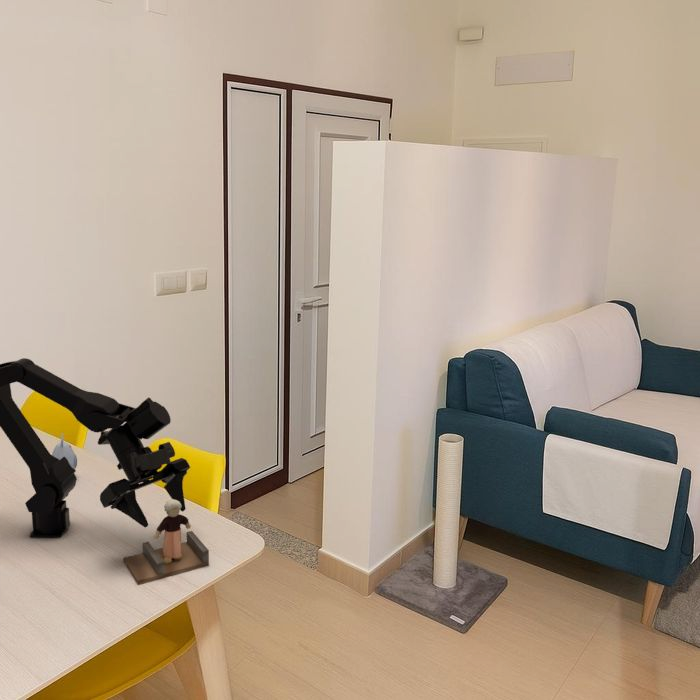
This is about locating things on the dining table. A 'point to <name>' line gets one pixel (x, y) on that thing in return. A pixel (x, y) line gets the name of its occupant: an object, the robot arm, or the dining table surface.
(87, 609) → the dining table surface
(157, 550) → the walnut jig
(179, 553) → the grandmother figurine
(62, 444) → the toy figure
